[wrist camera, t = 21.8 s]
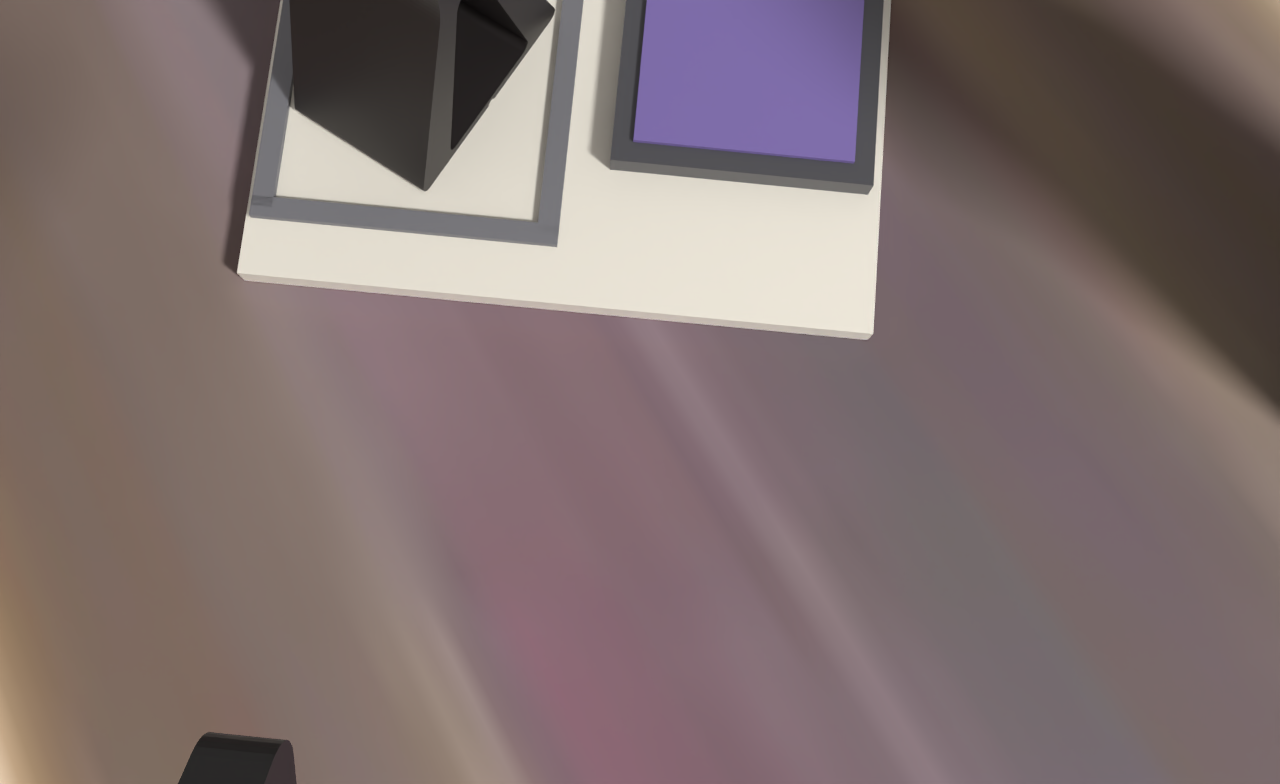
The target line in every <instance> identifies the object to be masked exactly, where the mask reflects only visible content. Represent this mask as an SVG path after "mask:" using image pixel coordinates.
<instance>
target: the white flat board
mask: <svg viewBox="0 0 1280 784" xmlns="http://www.w3.org/2000/svg"><path fill="white" fill-rule="evenodd" d="M547 1H548V2H549V3H550V4H551V5H552V6H553V7H554V8H555V13H554V15H553V18H552V19H551V21H550V22H549V24H548V25H547V26H546V28H545V29H544V31H543V32H542V33H541V35H540V36H539V37H538V39H537V40H536V42H535V43H534V44H533V46H532V47H531V49H530V50H529V51H528V53H527V54H526V55H525V57H524V58H523V60H522V61H521V62H520V64H519V65H518V67H517V68H516V69H515V71H514V72H513V73H512V75H511V76H510V78H509V79H508V80H507V82H506V83H505V84H504V86H503V87H502V89H501V90H500V91H499V93H498V94H497V96H496V97H495V98H494V99H492V100H491V101H490V103H489V107H488V108H487V109H486V111H485V112H484V114H483V115H482V116H481V118H480V119H479V120H478V122H477V123H476V125H475V126H474V127H473V129H472V130H471V132H470V133H469V134H468V136H467V137H466V138H465V140H464V141H463V143H462V144H461V145H460V147H459V148H458V149H457V151H456V152H455V154H454V155H453V156H452V158H451V159H450V161H449V162H448V163H447V165H446V166H445V167H444V169H443V170H442V172H441V173H440V174H439V176H438V177H437V179H436V180H435V181H434V183H433V184H432V185H431V187H430V188H429V189H428V190H427V191H423V190H421V189H420V188H418V187H417V186H415V185H413V184H412V183H410V182H409V181H407V180H406V179H404V178H402V177H401V176H399V175H398V174H396V173H395V172H393V171H391V170H390V169H388V168H387V167H385V166H384V165H382V164H380V163H379V162H377V161H376V160H374V159H372V158H371V157H369V156H368V155H366V154H365V153H363V152H361V151H360V150H358V149H357V148H355V147H354V146H352V145H350V144H349V143H347V142H346V141H344V140H343V139H341V138H339V137H338V136H336V135H335V134H333V133H332V132H330V131H328V130H327V129H325V128H324V127H322V126H321V125H319V124H317V123H316V122H314V121H313V120H311V119H310V118H308V117H306V116H305V115H303V114H302V113H300V112H299V111H297V110H295V105H294V85H293V90H292V96H291V103H290V109H289V115H288V122H287V128H286V135H285V141H284V148H283V154H282V161H281V167H280V173H279V180H278V186H277V193H276V197H279V198H289V199H300V200H310V201H320V202H331V203H341V204H351V205H362V206H372V207H382V208H393V209H403V210H413V211H424V212H434V213H444V214H455V215H465V216H475V217H486V218H496V219H506V220H517V221H527V222H537V223H538V218H539V209H540V200H541V191H542V182H543V173H544V164H545V155H546V146H547V137H548V128H549V119H550V110H551V101H552V92H553V82H554V73H555V64H556V55H557V46H558V37H559V28H560V19H561V10H562V1H563V0H547ZM282 4H283V0H280V6H279V13H278V19H277V25H276V31H275V38H274V44H273V50H272V56H271V63H270V69H269V75H268V81H267V88H266V94H265V100H264V107H263V113H262V119H261V125H260V132H259V138H258V144H257V150H256V157H255V163H254V169H253V175H252V182H251V188H250V194H249V200H248V207H247V213H246V219H245V225H244V232H243V238H242V244H241V250H240V257H239V263H238V269H237V274H238V275H239V276H240V277H242V278H243V279H244V280H245V281H255V282H265V283H276V284H286V285H297V286H307V287H318V288H328V289H339V290H349V291H360V292H370V293H381V294H391V295H402V296H412V297H422V298H433V299H443V300H454V301H464V302H475V303H485V304H496V305H506V306H517V307H527V308H538V309H548V310H559V311H569V312H579V313H590V314H600V315H611V316H621V317H632V318H642V319H653V320H663V321H674V322H684V323H695V324H705V325H716V326H726V327H736V328H747V329H757V330H768V331H778V332H789V333H799V334H810V335H820V336H831V337H841V338H852V339H862V340H868V339H869V338H870V337H871V336H872V335H873V328H874V309H875V290H876V272H877V253H878V234H879V216H880V197H881V179H882V160H883V141H884V123H885V104H886V85H887V67H888V48H889V29H890V11H891V0H884V5H883V23H882V41H881V59H880V78H879V96H878V114H877V132H876V150H875V169H874V186H873V187H872V189H871V190H870V192H869V194H868V195H865V194H854V193H844V192H834V191H824V190H813V189H803V188H793V187H783V186H772V185H762V184H752V183H742V182H732V181H721V180H711V179H701V178H691V177H680V176H670V175H660V174H650V173H639V172H629V171H619V170H610V157H611V147H612V137H613V127H614V117H615V107H616V97H617V87H618V77H619V67H620V57H621V47H622V37H623V27H624V17H625V7H626V0H584V1H583V11H582V20H581V29H580V39H579V48H578V57H577V67H576V76H575V85H574V95H573V104H572V113H571V123H570V132H569V141H568V151H567V160H566V169H565V179H564V188H563V197H562V207H561V216H560V225H559V235H558V244H557V247H550V246H539V245H529V244H519V243H508V242H498V241H487V240H477V239H467V238H456V237H446V236H436V235H425V234H415V233H405V232H394V231H384V230H373V229H363V228H353V227H342V226H332V225H322V224H311V223H301V222H290V221H280V220H270V219H259V218H251V217H250V216H249V211H250V205H251V198H252V192H253V186H254V180H255V173H256V167H257V161H258V154H259V148H260V142H261V136H262V129H263V123H264V117H265V111H266V104H267V98H268V92H269V85H270V79H271V73H272V67H273V60H274V54H275V48H276V42H277V35H278V29H279V23H280V16H281V10H282Z"/></svg>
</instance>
